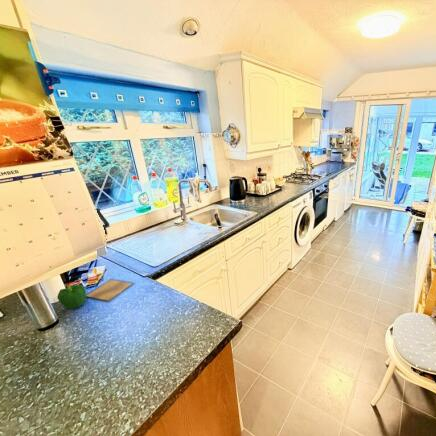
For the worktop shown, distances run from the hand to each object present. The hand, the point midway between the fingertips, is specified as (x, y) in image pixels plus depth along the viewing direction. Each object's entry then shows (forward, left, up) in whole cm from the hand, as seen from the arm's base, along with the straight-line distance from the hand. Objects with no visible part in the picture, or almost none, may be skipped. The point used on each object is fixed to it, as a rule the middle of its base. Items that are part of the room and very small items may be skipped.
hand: (91, 244), depth 103 cm
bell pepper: (+2, -14, -21) cm, 25 cm away
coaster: (+7, -3, -21) cm, 22 cm away
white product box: (-3, +2, -6) cm, 7 cm away
